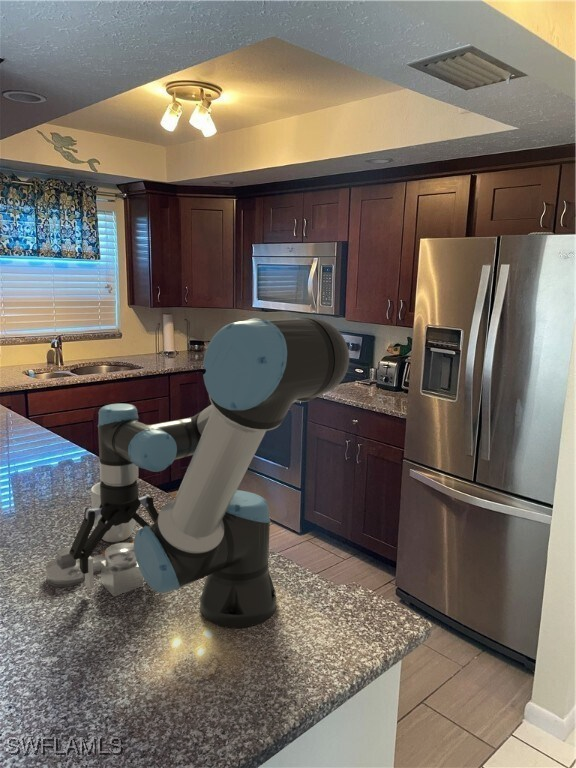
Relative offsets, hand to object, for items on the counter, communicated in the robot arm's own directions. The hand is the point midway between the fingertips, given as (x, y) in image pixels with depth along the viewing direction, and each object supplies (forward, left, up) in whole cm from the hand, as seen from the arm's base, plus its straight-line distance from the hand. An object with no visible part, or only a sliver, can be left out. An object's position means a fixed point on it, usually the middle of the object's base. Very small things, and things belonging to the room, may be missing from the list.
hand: (121, 575), depth 118 cm
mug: (+21, -8, -2) cm, 22 cm away
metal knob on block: (0, 0, -2) cm, 2 cm away
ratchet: (+10, +1, -2) cm, 10 cm away
